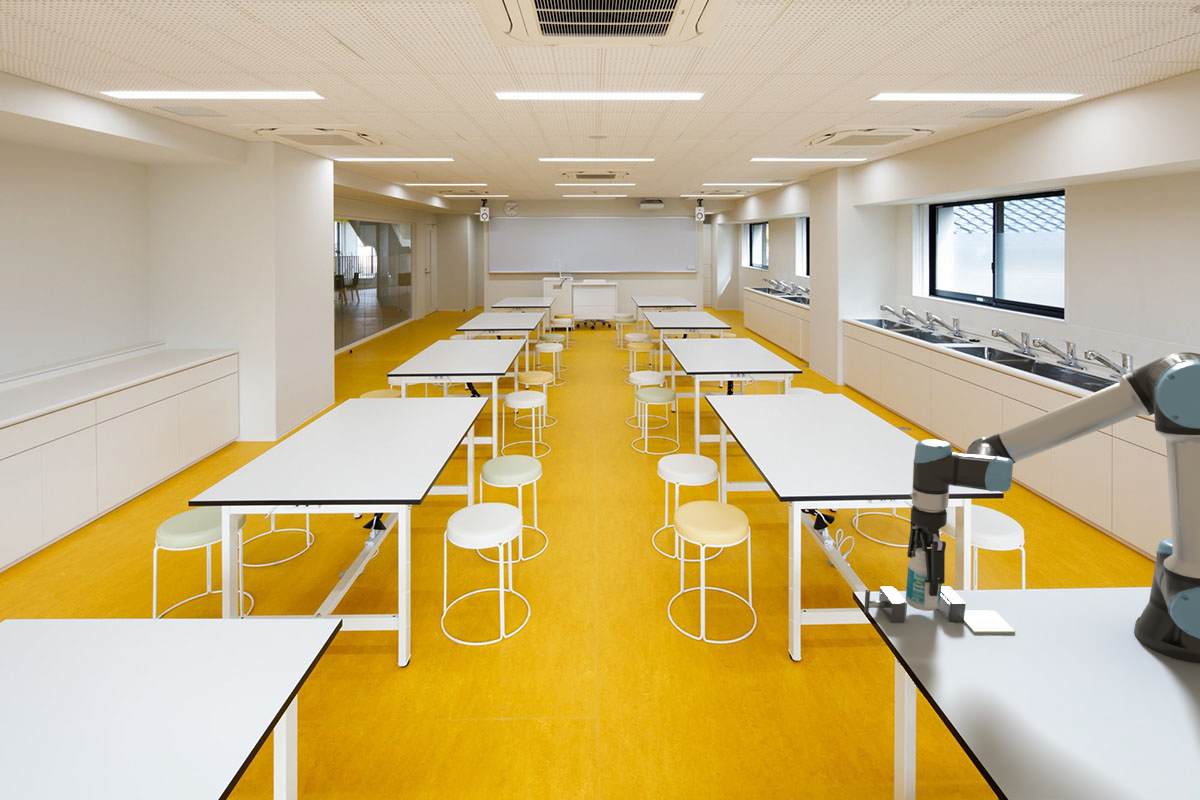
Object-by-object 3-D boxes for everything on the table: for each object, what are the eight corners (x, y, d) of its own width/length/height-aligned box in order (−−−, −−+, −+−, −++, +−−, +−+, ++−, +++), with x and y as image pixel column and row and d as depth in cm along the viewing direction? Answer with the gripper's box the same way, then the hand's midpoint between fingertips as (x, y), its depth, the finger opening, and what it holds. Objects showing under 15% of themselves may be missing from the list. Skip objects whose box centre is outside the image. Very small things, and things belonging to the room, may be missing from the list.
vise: (947, 609, 166) (950, 582, 165) (963, 626, 158) (966, 599, 157) (858, 609, 167) (860, 582, 166) (869, 626, 159) (871, 599, 158)
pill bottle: (910, 611, 159) (913, 557, 156) (901, 596, 166) (904, 544, 163) (944, 613, 158) (948, 558, 155) (934, 597, 165) (938, 545, 162)
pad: (994, 612, 162) (994, 610, 162) (1015, 633, 153) (1015, 631, 153) (955, 612, 163) (955, 610, 162) (974, 633, 154) (974, 631, 154)
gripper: (895, 492, 167) (891, 578, 172) (931, 524, 147) (924, 620, 152) (927, 491, 166) (921, 577, 171) (967, 523, 147) (959, 620, 151)
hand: (923, 597), depth 161 cm, fingers closed on pill bottle, 7 cm apart
